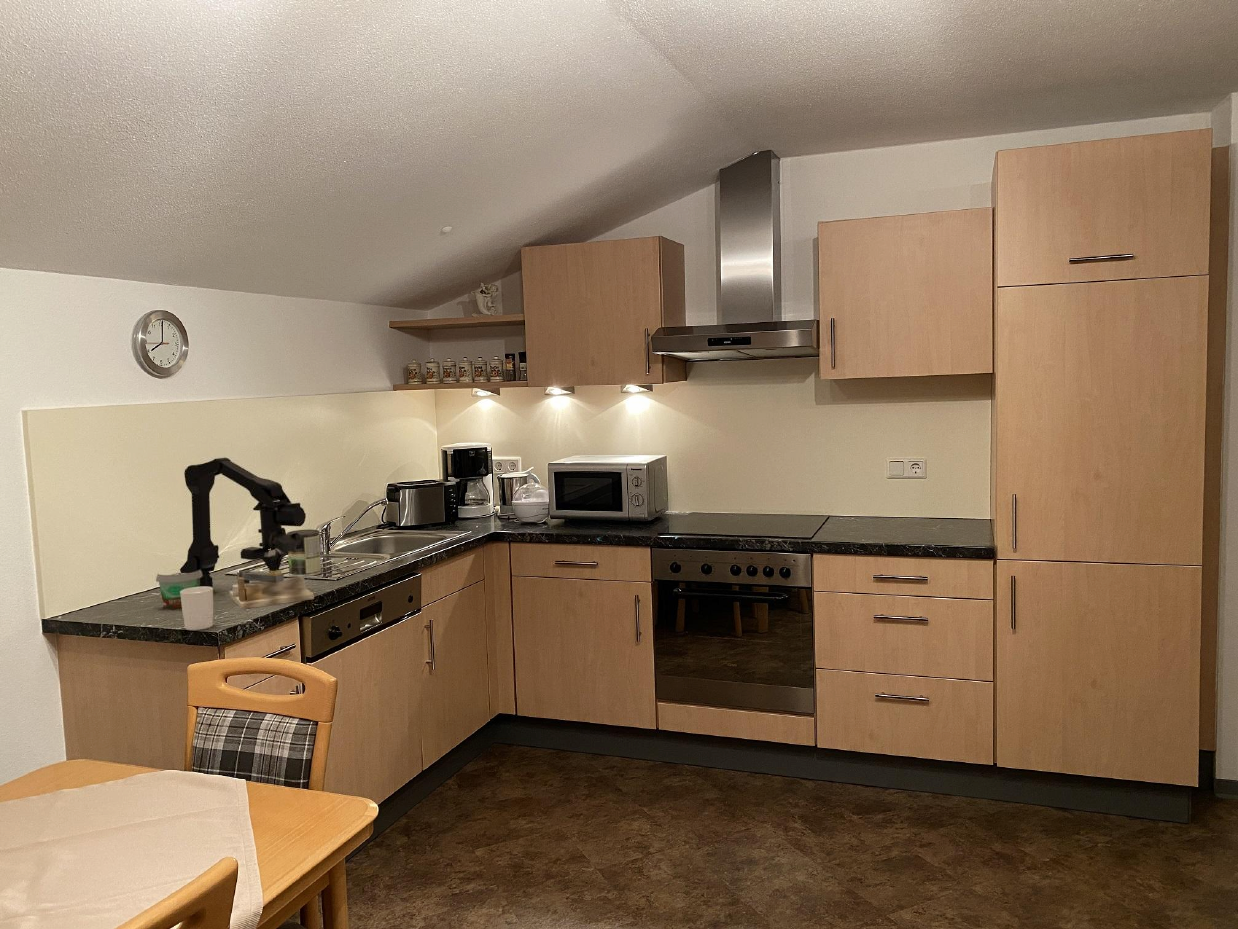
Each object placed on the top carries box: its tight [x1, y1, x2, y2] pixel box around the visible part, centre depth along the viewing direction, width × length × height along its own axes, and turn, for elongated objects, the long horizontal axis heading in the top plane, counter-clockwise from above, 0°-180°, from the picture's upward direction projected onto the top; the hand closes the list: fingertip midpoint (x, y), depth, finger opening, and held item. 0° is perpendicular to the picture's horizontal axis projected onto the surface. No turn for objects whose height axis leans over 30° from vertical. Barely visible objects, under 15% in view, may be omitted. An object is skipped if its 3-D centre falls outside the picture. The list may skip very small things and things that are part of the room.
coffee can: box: [286, 529, 322, 578], centre depth 316 cm, size 10×10×14 cm
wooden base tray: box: [228, 576, 315, 610], centre depth 282 cm, size 20×20×8 cm
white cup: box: [180, 587, 214, 631], centre depth 250 cm, size 8×8×10 cm
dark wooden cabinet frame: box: [236, 568, 285, 583], centre depth 281 cm, size 16×3×4 cm, turn 65°
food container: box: [155, 570, 203, 610], centre depth 273 cm, size 12×6×10 cm, turn 114°
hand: (275, 577), depth 282 cm, fingers closed
